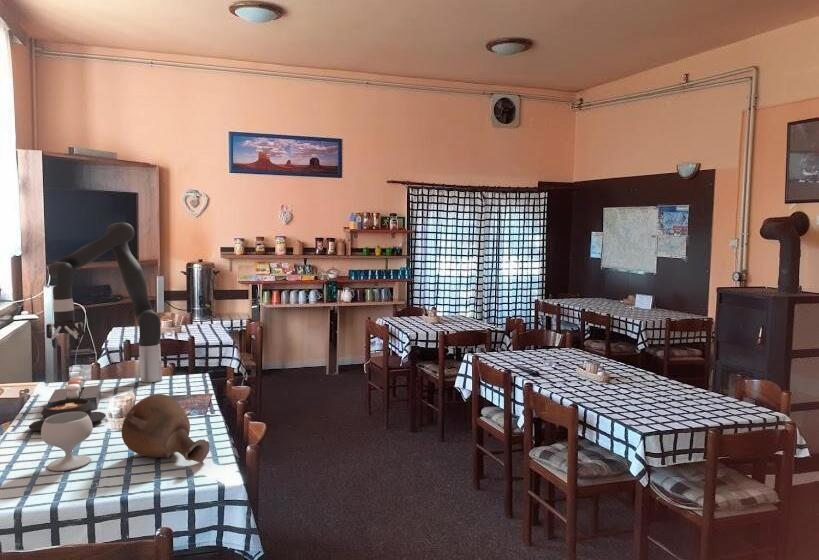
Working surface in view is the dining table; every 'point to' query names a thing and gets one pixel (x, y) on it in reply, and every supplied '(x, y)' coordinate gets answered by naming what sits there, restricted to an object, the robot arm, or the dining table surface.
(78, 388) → the middle knob
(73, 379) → the knob
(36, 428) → the casserole
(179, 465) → the dining table surface
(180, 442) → the jug
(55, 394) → the control box
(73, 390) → the knob
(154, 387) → the dining table surface
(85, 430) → the chalice
